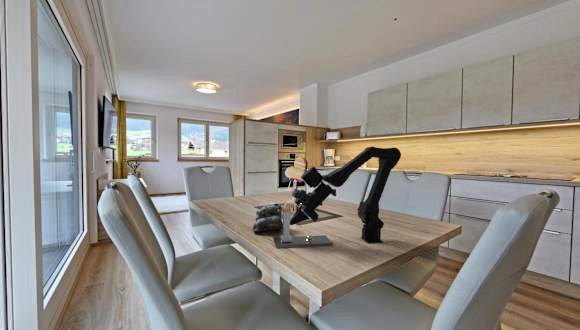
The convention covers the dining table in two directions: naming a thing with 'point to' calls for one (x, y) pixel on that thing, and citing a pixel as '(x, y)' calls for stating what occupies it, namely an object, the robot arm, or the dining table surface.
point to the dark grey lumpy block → (268, 218)
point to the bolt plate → (303, 241)
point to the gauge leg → (286, 226)
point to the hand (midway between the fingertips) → (290, 224)
